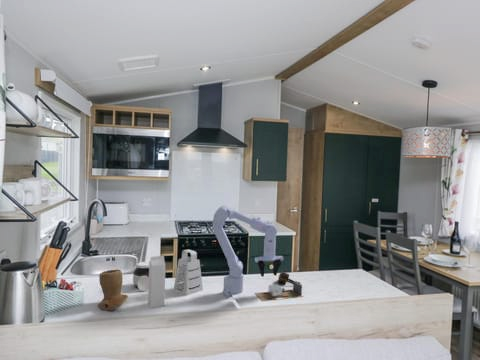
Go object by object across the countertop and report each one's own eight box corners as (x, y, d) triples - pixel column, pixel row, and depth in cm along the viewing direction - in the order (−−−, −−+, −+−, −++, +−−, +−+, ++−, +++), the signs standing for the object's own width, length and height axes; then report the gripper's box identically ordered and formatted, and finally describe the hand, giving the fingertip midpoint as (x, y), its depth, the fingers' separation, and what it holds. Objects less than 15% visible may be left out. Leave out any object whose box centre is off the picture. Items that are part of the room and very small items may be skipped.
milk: (148, 303, 149) (148, 255, 148) (161, 301, 151) (162, 253, 151) (150, 308, 143) (152, 258, 142) (164, 306, 146) (165, 257, 145)
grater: (186, 295, 159) (187, 254, 158) (173, 289, 166) (174, 250, 165) (202, 290, 166) (204, 251, 166) (189, 284, 174) (190, 247, 173)
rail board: (261, 303, 152) (262, 290, 152) (254, 295, 162) (254, 283, 162) (303, 299, 160) (304, 286, 159) (293, 291, 169) (294, 279, 169)
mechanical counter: (283, 270, 186) (273, 270, 179) (303, 273, 178) (294, 273, 171) (282, 283, 185) (272, 284, 177) (302, 287, 177) (293, 288, 169)
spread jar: (146, 281, 176) (147, 260, 175) (160, 286, 169) (161, 264, 169) (127, 287, 166) (127, 265, 166) (141, 293, 160) (142, 269, 159)
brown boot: (106, 297, 154) (107, 265, 153) (131, 298, 153) (131, 266, 152) (89, 311, 139) (90, 276, 138) (116, 312, 138) (117, 277, 137)
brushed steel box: (274, 298, 155) (274, 290, 155) (268, 293, 162) (268, 285, 161) (287, 297, 157) (288, 289, 157) (281, 291, 164) (281, 284, 164)
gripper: (259, 251, 156) (258, 279, 157) (286, 249, 161) (285, 276, 161) (253, 247, 163) (252, 274, 163) (280, 246, 168) (279, 272, 168)
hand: (268, 275), depth 163 cm, fingers open, 6 cm apart
